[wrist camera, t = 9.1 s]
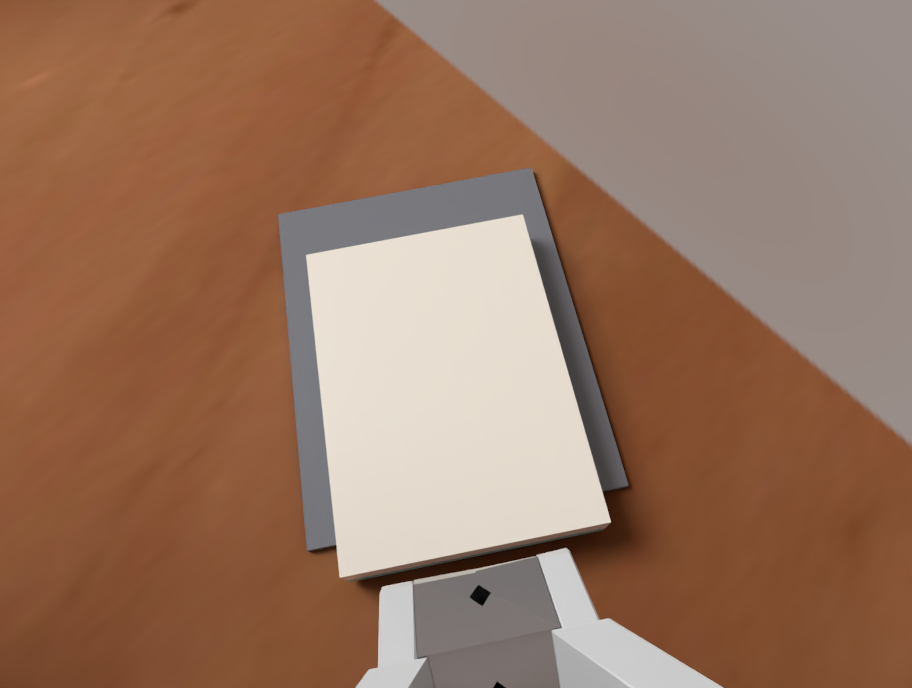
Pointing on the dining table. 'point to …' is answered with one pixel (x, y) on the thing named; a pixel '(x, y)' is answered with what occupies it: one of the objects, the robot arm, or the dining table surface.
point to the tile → (446, 401)
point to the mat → (403, 219)
